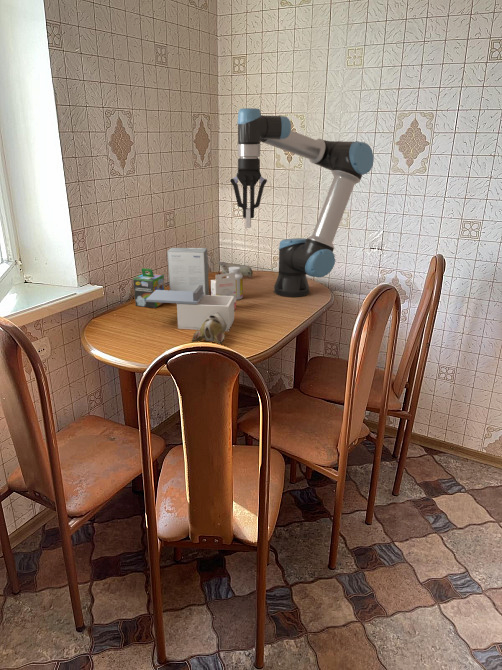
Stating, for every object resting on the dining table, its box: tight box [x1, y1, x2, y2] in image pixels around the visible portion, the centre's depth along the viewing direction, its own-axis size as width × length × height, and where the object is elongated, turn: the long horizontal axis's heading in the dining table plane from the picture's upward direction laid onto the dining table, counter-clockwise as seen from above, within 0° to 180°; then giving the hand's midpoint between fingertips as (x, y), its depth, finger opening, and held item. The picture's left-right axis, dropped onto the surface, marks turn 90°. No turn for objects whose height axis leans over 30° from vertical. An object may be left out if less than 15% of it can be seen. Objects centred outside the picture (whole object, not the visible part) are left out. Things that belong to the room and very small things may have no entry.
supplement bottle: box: [226, 267, 244, 301], centre depth 209 cm, size 7×7×13 cm
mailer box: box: [176, 294, 235, 332], centre depth 180 cm, size 18×12×9 cm, turn 83°
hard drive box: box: [166, 247, 210, 295], centre depth 209 cm, size 16×8×20 cm, turn 84°
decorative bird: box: [216, 260, 253, 279], centre depth 240 cm, size 6×17×8 cm, turn 82°
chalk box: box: [132, 267, 166, 309], centre depth 200 cm, size 9×9×15 cm
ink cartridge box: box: [210, 273, 237, 310], centre depth 195 cm, size 9×5×15 cm, turn 117°
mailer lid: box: [146, 285, 204, 304], centre depth 179 cm, size 18×12×4 cm, turn 83°
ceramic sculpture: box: [190, 312, 227, 345], centre depth 167 cm, size 11×9×15 cm
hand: (248, 227), depth 182 cm, fingers closed
